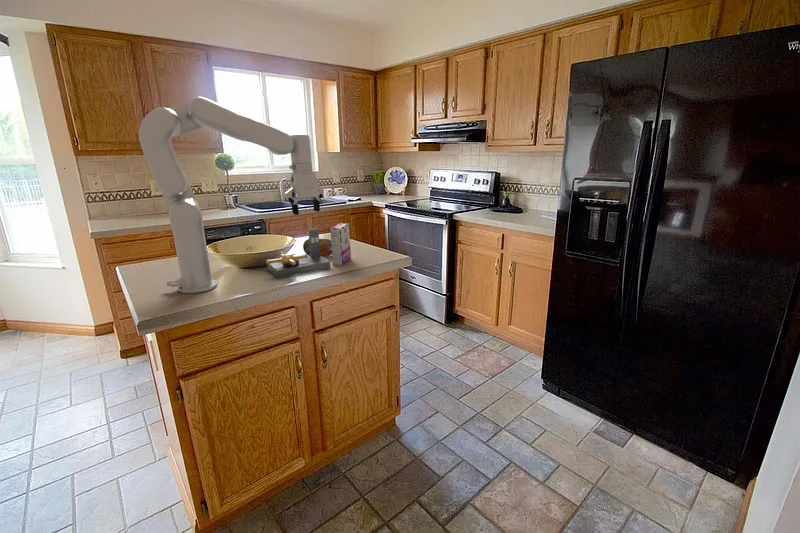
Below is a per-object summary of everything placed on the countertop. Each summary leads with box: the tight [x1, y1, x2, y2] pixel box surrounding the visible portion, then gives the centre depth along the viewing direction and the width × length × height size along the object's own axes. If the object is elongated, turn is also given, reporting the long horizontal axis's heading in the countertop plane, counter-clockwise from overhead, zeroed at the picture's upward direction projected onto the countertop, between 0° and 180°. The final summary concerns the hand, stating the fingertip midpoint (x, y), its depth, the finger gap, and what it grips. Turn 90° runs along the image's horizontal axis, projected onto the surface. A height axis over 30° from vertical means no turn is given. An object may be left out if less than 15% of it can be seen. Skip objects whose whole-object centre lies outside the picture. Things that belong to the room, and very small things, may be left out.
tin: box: [302, 238, 332, 258], centre depth 176 cm, size 15×3×8 cm, turn 77°
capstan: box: [266, 253, 309, 266], centre depth 151 cm, size 17×17×4 cm
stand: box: [266, 228, 331, 279], centre depth 155 cm, size 22×14×15 cm, turn 123°
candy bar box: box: [329, 223, 352, 267], centre depth 164 cm, size 11×5×16 cm, turn 168°
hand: (306, 212), depth 149 cm, fingers open, 9 cm apart
